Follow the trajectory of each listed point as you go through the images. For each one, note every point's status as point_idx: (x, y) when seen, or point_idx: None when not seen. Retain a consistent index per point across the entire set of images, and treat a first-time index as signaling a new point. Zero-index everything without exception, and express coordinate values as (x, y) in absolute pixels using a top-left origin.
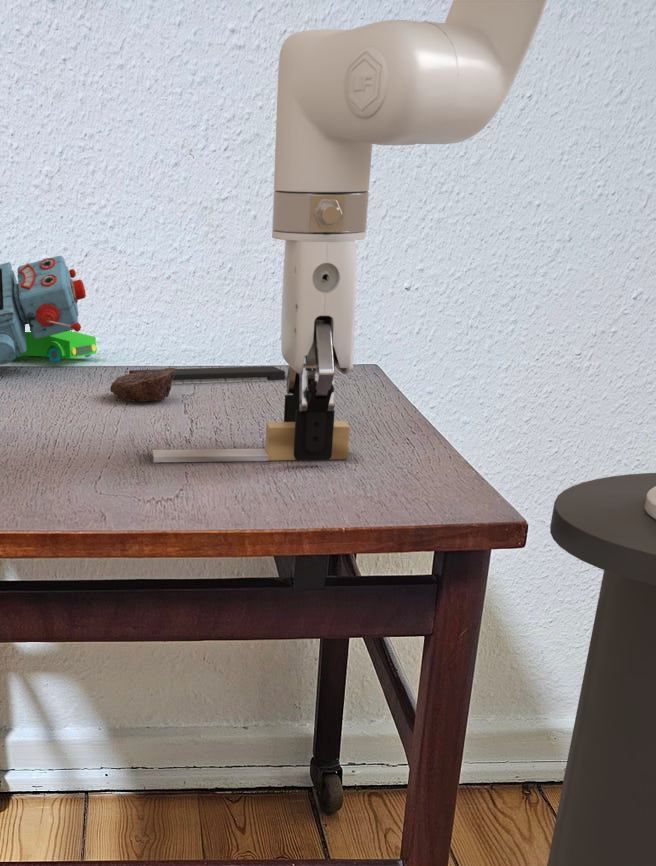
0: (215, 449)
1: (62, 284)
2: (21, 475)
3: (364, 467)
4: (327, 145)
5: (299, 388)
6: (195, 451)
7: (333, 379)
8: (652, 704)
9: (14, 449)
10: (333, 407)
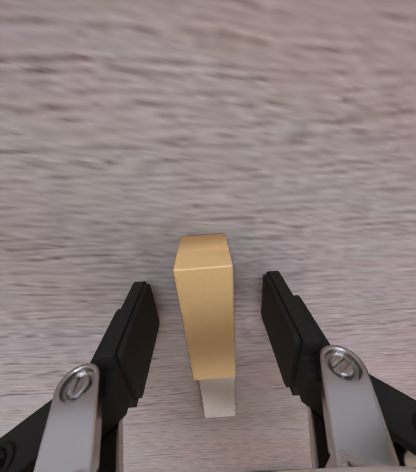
0: (201, 380)
1: None
2: (269, 456)
3: (281, 208)
4: None
5: (120, 410)
6: (211, 393)
7: (394, 459)
8: None
9: (185, 466)
10: (357, 358)
